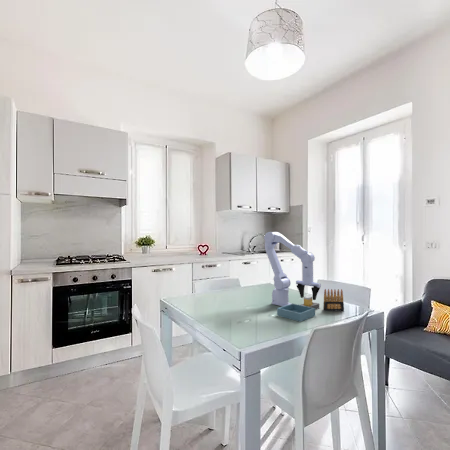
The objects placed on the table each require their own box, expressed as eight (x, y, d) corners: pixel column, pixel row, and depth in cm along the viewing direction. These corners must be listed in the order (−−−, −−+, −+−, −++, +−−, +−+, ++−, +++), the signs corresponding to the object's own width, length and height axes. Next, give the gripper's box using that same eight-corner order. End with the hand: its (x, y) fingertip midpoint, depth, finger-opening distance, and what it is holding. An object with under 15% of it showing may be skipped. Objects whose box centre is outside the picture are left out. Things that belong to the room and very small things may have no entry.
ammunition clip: (324, 310, 159) (323, 289, 160) (323, 309, 161) (323, 288, 161) (344, 311, 158) (343, 289, 159) (343, 310, 160) (342, 288, 160)
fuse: (303, 309, 162) (303, 297, 162) (307, 308, 165) (307, 295, 165) (308, 310, 160) (308, 297, 160) (312, 309, 163) (312, 296, 163)
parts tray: (277, 315, 151) (277, 308, 151) (292, 310, 161) (292, 303, 161) (300, 321, 141) (300, 313, 141) (315, 315, 150) (315, 308, 150)
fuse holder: (296, 310, 160) (296, 305, 160) (309, 305, 169) (309, 300, 169) (306, 312, 156) (306, 307, 156) (319, 307, 165) (319, 302, 165)
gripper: (323, 275, 160) (323, 299, 160) (300, 272, 171) (300, 295, 171) (316, 276, 155) (317, 301, 155) (293, 273, 166) (294, 297, 166)
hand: (308, 298), depth 162 cm, fingers open, 7 cm apart
